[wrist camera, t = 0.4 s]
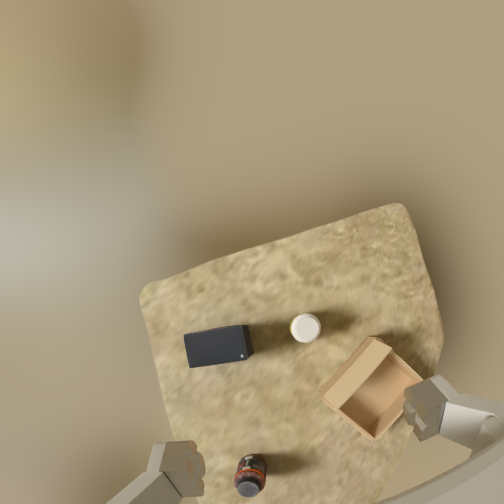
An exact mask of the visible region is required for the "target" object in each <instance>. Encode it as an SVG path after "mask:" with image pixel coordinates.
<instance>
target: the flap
mask: <svg viewBox="0 0 504 504" xmlns="http://www.w3.org/2000/svg"><path fill="white" fill-rule="evenodd" d="M392 349H393V348H392V347H390V346H387V345H385V344H383V343H381V342H379V341H377V340H375V339H374V340H373V341H372V343H371V344H370V345H369V346H368V347H367V349H366V350H365V351H364V352H363V353H362V354H361V356H360V357H359V358H358V359H357V360H356V361H355V362H354V363H353V365H352V366H351V367H350V368H349V369H348V370H347V371H346V372H345V373H344V374H343V376H342V377H341V378H340V379H339V380H338V381H337V382H336V383H335V384H334V385H333V386H332V387H331V388H330V389H329V390H328V391H327V392H326V393H325V394H324V396H325V398H326V399H327V400H328V401H329V402H330V403H331V404H332V405H333V407H334V408H335V409H336V410H338V409H339V408H340V407H341V406H342V405H343V404H344V403H345V402H346V401H347V400H348V399H349V398H350V397H351V396H352V395H353V394H354V392H355V391H356V390H357V389H358V388H359V387H360V386H361V385H362V384H363V383H364V382H365V380H366V379H367V378H368V377H369V376H370V375H371V374H372V372H373V371H374V370H375V369H376V368H377V367H378V366H379V364H380V363H381V362H382V361H383V360H384V358H385V357H386V356H387V355H388V354H389V352H390V351H391V350H392Z"/></svg>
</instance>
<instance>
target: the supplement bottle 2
mask: <svg viewBox="0 0 504 504" xmlns="http://www.w3.org/2000/svg"><path fill="white" fill-rule="evenodd" d="M289 329H290V333H291V334H292V336H293V337H294V338H295V339H296V340H297V341H299V342H302V343H309V342H312V341H314V340H315V339H316V338H317V337H318V336H319V334H320V331H321V324H320V321H319V320H318V318H317V317H316V316H314V315H312V314H309V313H303V314H298V315H296V316H295V317H294V318H293V319H292V320H291V322H290V327H289Z"/></svg>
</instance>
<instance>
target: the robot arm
mask: <svg viewBox="0 0 504 504" xmlns="http://www.w3.org/2000/svg"><path fill="white" fill-rule="evenodd" d="M404 397H405V398H406V400H405V402H404V403H403V413H404V417H405V419H406V421H407V423H408V424H409V425H412V426H414V430H413V432H414V433H415V435H416V436H417V437H418V439H419V441H420V442H421V441H424V440H426V439H428V438H430V437H433V436H435V435H437V434H439V435H441V436H443V437H445V438H447V439H450V440H452V441H454V442H457V443H459V444H461V445H463V446H466V447H468V448H470V449H473V450H472V452H471V455H470V457H469V459H467V460H466V461H464V462H462V463H461V464H459V465H457V466H455V467H453V468H452V469H450V470H448V471H446V472H444V473H442V474H441V475H438V476H437V477H435V478H433V479H431V480H428V481H426V482H424V483H422V484H421V485H418V486H416V487H414V488H411V489H409V490H407V491H405V492H402V493H400V494H397V495H395V496H392V497H390V498H387V499H385V500H382V501H379V502H377V503H374V504H504V402H499V401H494V400H490V399H485V398H481V397H476V396H472V395H468V394H459V393H458V392H457V391H456V390H455V389H454V388H453V387H452V386H451V385H450V384H449V383H448V382H447V381H446V380H445V379H444V378H443V377H442V376H441V375H440V374H436V375H434V376H432V377H430V378H428V379H425V380H423V381H421V382H419V383H416V384H414V385H412V386H409V387H407V388H405V390H404ZM196 450H197V446H196V444H195V442H194V441H192V440H191V441H175V442H156V443H155V444H154V445H153V449H152V453H151V457H150V460H149V464H148V468H147V472H143V473H142V474H140V476H138V477H137V478H136V479H135V480H134V481H133V482H131V483H130V484H129V485H128V486H127V487H125V488H124V489H123V490H122V491H121V492H120V493H118V494H117V495H116V496H115V497H114V498H112V499H111V500H110V501H109V502H107V503H106V504H179V502H180V501H181V500H182V497H197V496H203V494H204V482H203V480H202V479H201V478H202V477H203V476H204V475H205V463H204V460H203V457H202V455H201V453H199V452H197V451H196Z"/></svg>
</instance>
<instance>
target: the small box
mask: <svg viewBox="0 0 504 504" xmlns="http://www.w3.org/2000/svg"><path fill="white" fill-rule="evenodd" d="M184 342H185V348H186V353H187V358H188V363H189V367H190V368H195V367H203V366H210V365H217V364H224V363H230V362H237V361H243V360H247V359H248V358H249V357H250V356H251V355H252V354H253V353H254V352H253V349H252V344H251V340H250V333H249V329H248V326H247V325H235V326H227V327H220V328H214V329H209V330H203V331H198V332H193V333H189V334H185V335H184Z"/></svg>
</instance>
